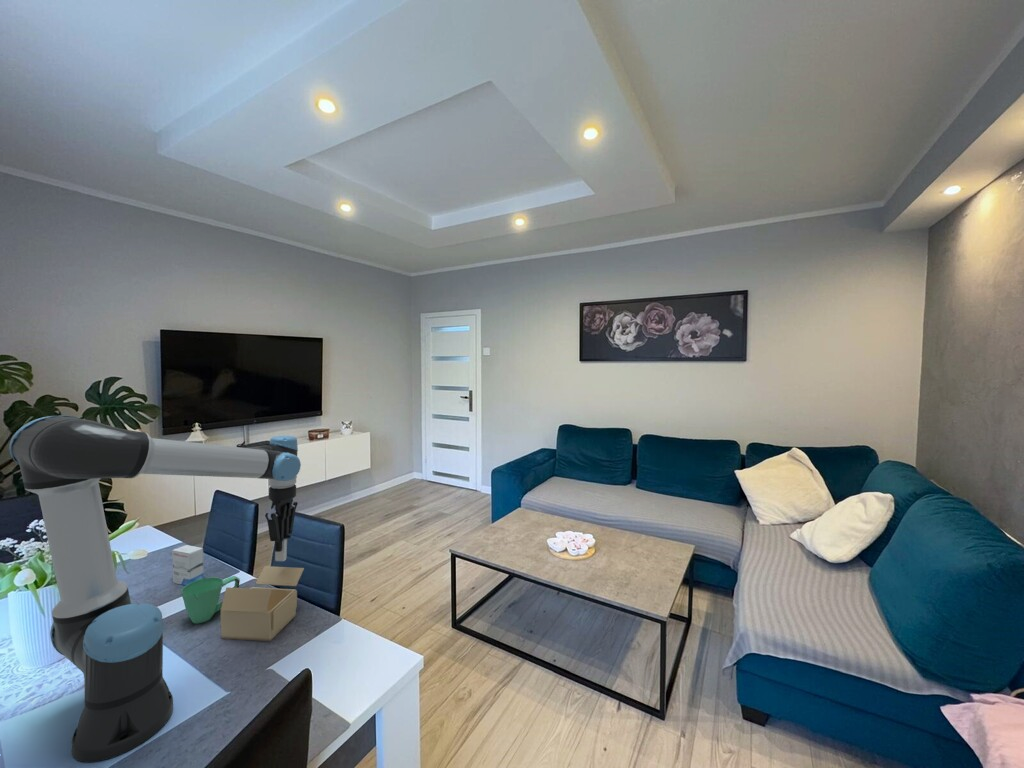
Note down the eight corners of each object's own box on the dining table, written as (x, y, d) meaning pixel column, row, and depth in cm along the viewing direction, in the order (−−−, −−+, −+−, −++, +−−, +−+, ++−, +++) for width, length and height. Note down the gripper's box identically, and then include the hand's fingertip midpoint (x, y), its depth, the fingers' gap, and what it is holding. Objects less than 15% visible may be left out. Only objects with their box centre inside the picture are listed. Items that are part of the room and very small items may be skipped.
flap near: (221, 609, 110) (227, 587, 112) (266, 612, 110) (271, 589, 112) (220, 609, 110) (226, 587, 112) (265, 612, 109) (270, 590, 111)
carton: (272, 641, 110) (272, 613, 110) (218, 638, 111) (218, 609, 111) (297, 615, 122) (298, 589, 122) (249, 612, 123) (249, 586, 123)
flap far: (295, 585, 123) (303, 568, 127) (255, 583, 124) (264, 566, 128) (296, 586, 123) (304, 568, 128) (256, 584, 124) (265, 566, 128)
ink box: (204, 580, 141) (204, 547, 141) (189, 587, 136) (189, 553, 136) (186, 576, 144) (187, 543, 143) (171, 583, 139) (171, 549, 139)
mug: (188, 633, 113) (188, 598, 113) (176, 620, 119) (176, 587, 118) (246, 608, 125) (246, 577, 125) (232, 598, 131) (232, 568, 130)
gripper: (281, 491, 119) (279, 570, 119) (306, 480, 132) (304, 551, 132) (257, 490, 120) (254, 569, 120) (284, 479, 133) (282, 550, 133)
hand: (280, 559), depth 126 cm, fingers closed
